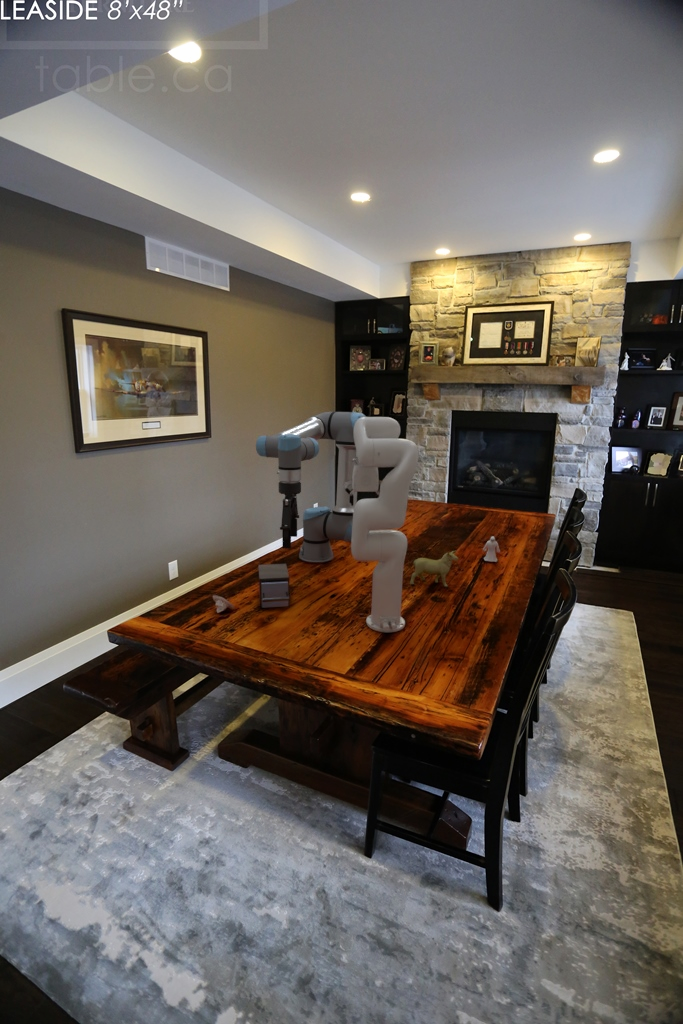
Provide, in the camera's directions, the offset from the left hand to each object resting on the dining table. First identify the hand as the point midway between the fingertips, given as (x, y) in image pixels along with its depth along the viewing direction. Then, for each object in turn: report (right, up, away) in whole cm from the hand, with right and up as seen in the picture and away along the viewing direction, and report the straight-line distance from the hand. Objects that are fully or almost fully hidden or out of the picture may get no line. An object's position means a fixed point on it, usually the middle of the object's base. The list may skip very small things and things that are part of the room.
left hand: (290, 542), depth 172 cm
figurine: (+85, -11, +53) cm, 101 cm away
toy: (+54, -18, +24) cm, 61 cm away
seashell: (-23, -23, -2) cm, 33 cm away
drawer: (-6, -21, +2) cm, 22 cm away
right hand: (+27, +13, +24) cm, 38 cm away
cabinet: (-7, -21, +8) cm, 23 cm away
